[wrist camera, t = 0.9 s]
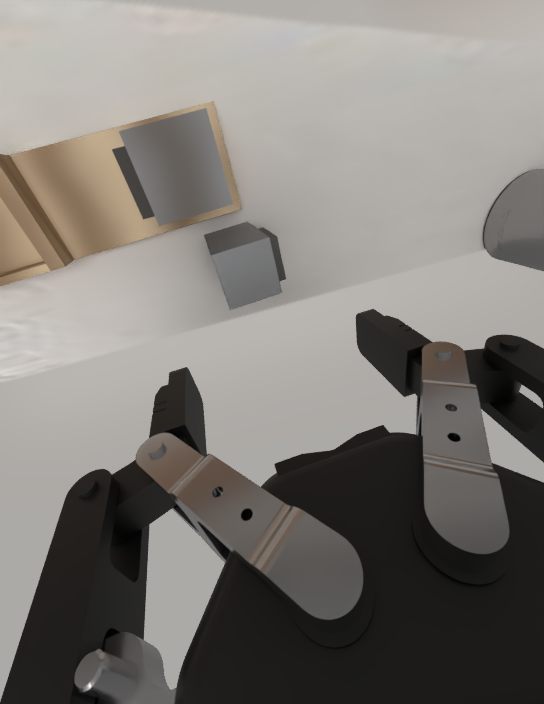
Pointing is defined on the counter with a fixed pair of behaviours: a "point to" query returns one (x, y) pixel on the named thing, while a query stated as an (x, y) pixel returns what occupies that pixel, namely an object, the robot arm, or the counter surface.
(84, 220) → the rail
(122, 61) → the counter surface
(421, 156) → the counter surface
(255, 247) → the block
